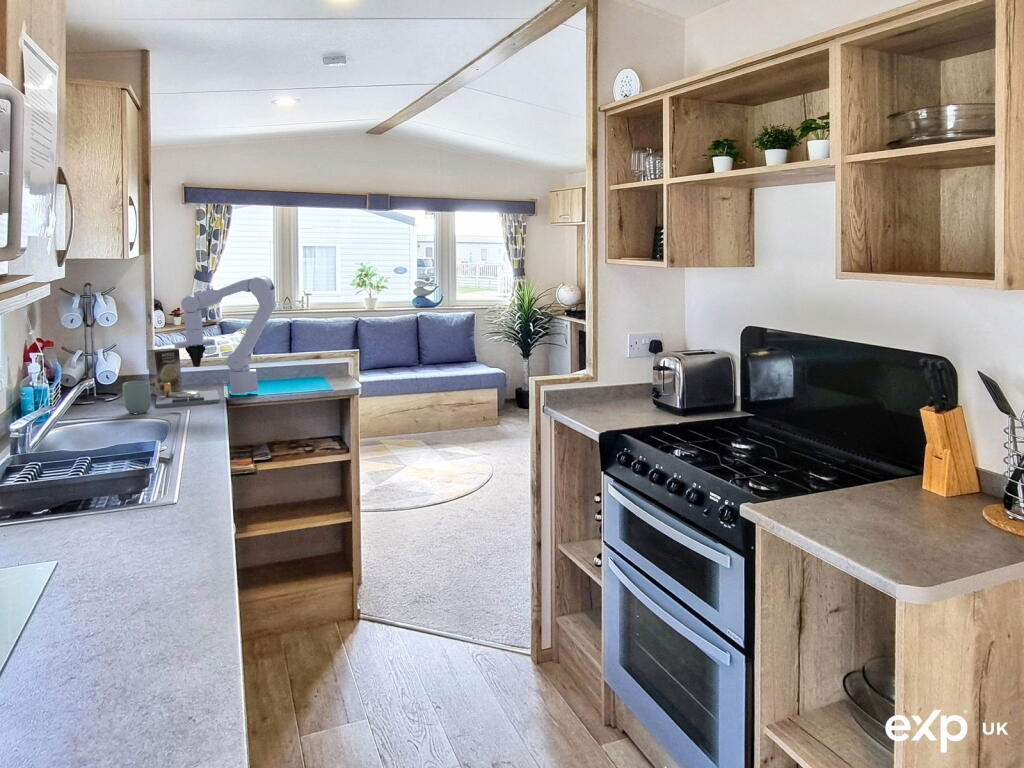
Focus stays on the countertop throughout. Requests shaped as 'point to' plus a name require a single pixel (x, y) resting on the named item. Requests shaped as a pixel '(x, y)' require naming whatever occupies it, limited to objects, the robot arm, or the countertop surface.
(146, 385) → the cup
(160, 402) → the gray mechanism base plate
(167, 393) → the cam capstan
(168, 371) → the coffee box
